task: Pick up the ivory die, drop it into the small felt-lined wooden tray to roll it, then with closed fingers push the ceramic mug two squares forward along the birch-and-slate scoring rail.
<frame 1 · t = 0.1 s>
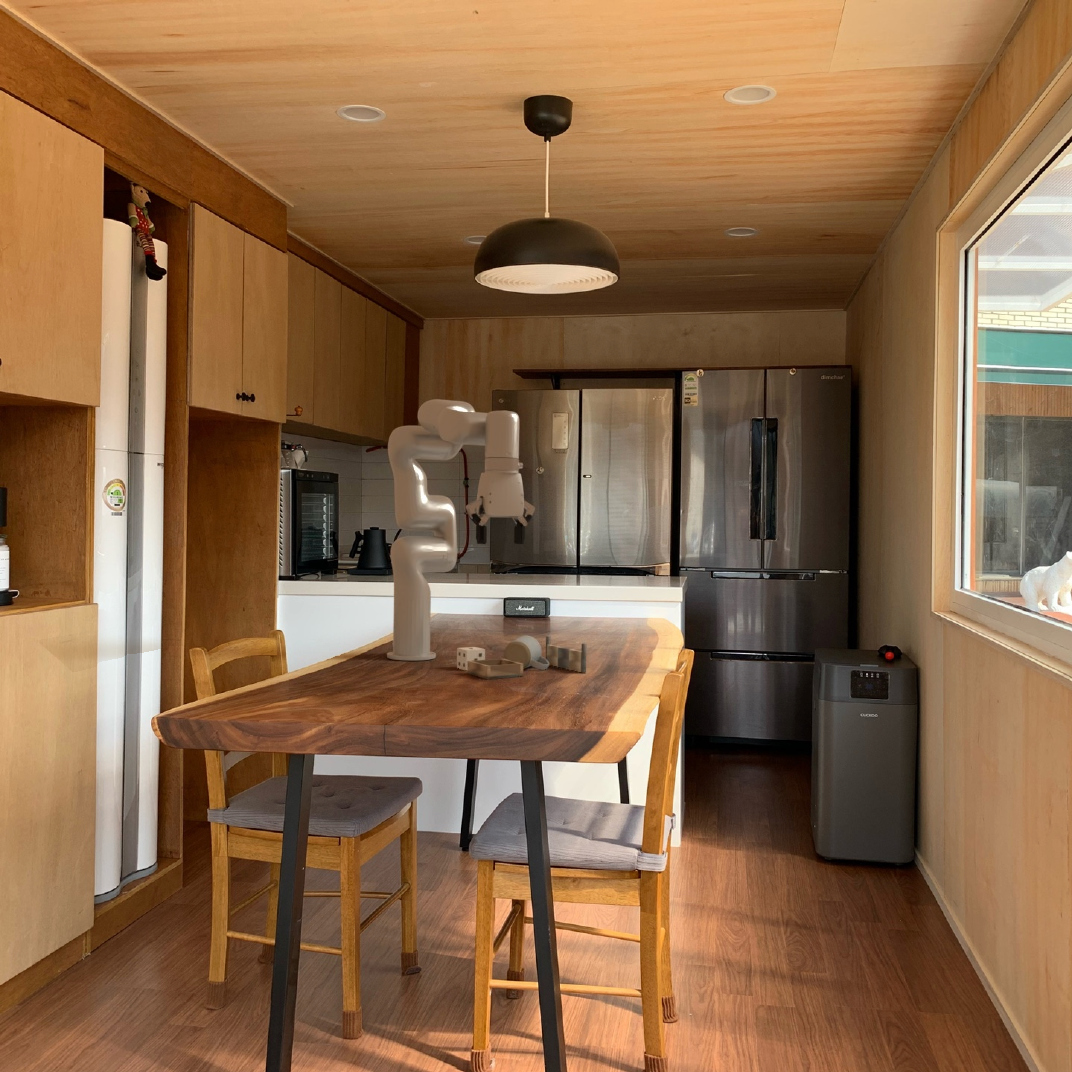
hand: (500, 543, 232), 31 cm above the table, tool pointing down, fingers open, 9 cm apart
felt tray: (495, 675, 244), on the table
ceramic mug: (527, 669, 257), on the table
die: (470, 669, 254), on the table
scoring rail: (565, 668, 257), on the table
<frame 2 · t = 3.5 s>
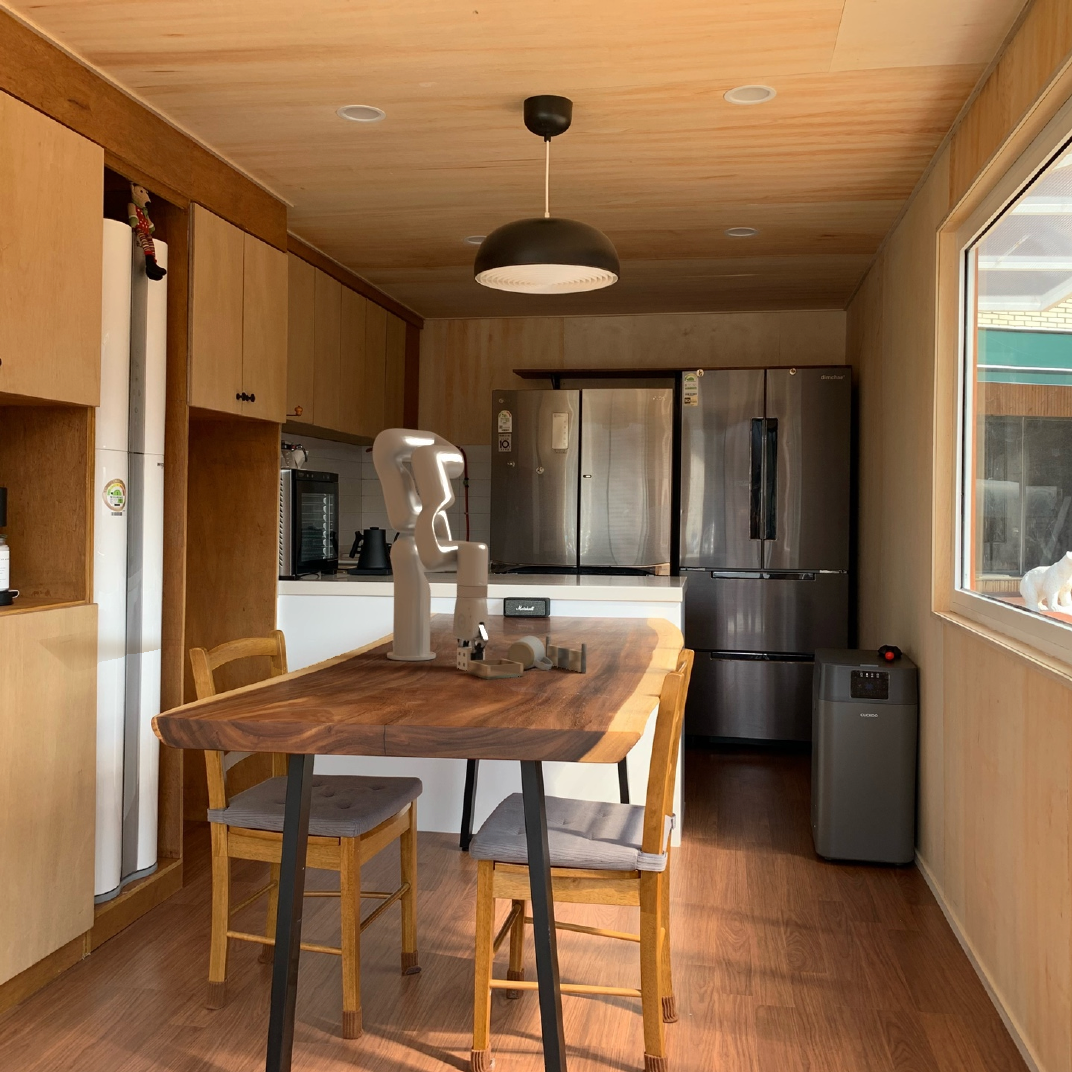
hand: (470, 666, 254), 0 cm above the table, tool pointing down, fingers closed on die, 5 cm apart
die: (470, 668, 254), on the table, touching gripper
everything else where it was.
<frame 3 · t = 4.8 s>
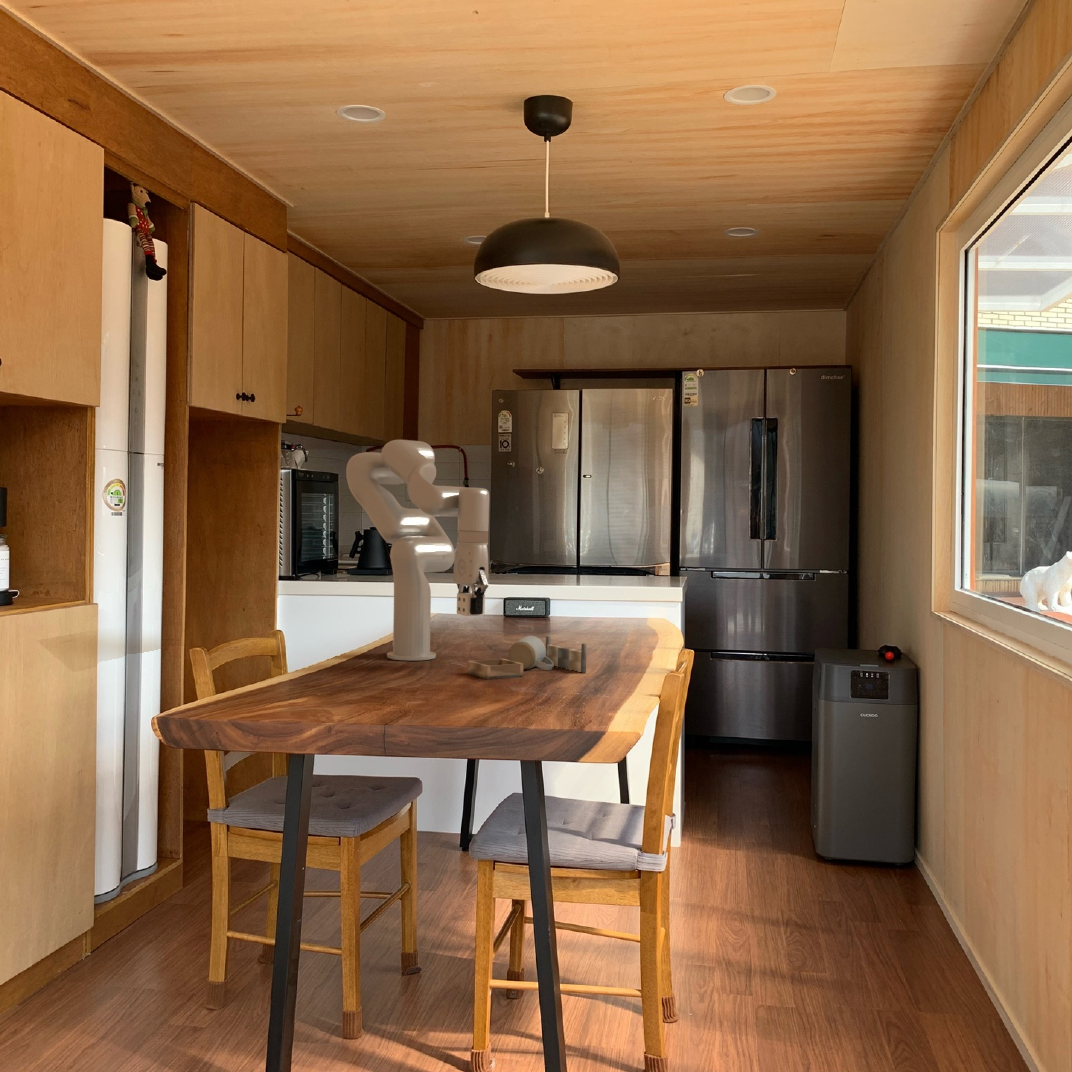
hand: (470, 612, 254), 14 cm above the table, tool pointing down, fingers closed on die, 5 cm apart
die: (470, 614, 254), point 13 cm above the table, touching gripper
when the fingers open (9 cm above the table, at t = 6.4 s): die drops 8 cm, resting on felt tray.
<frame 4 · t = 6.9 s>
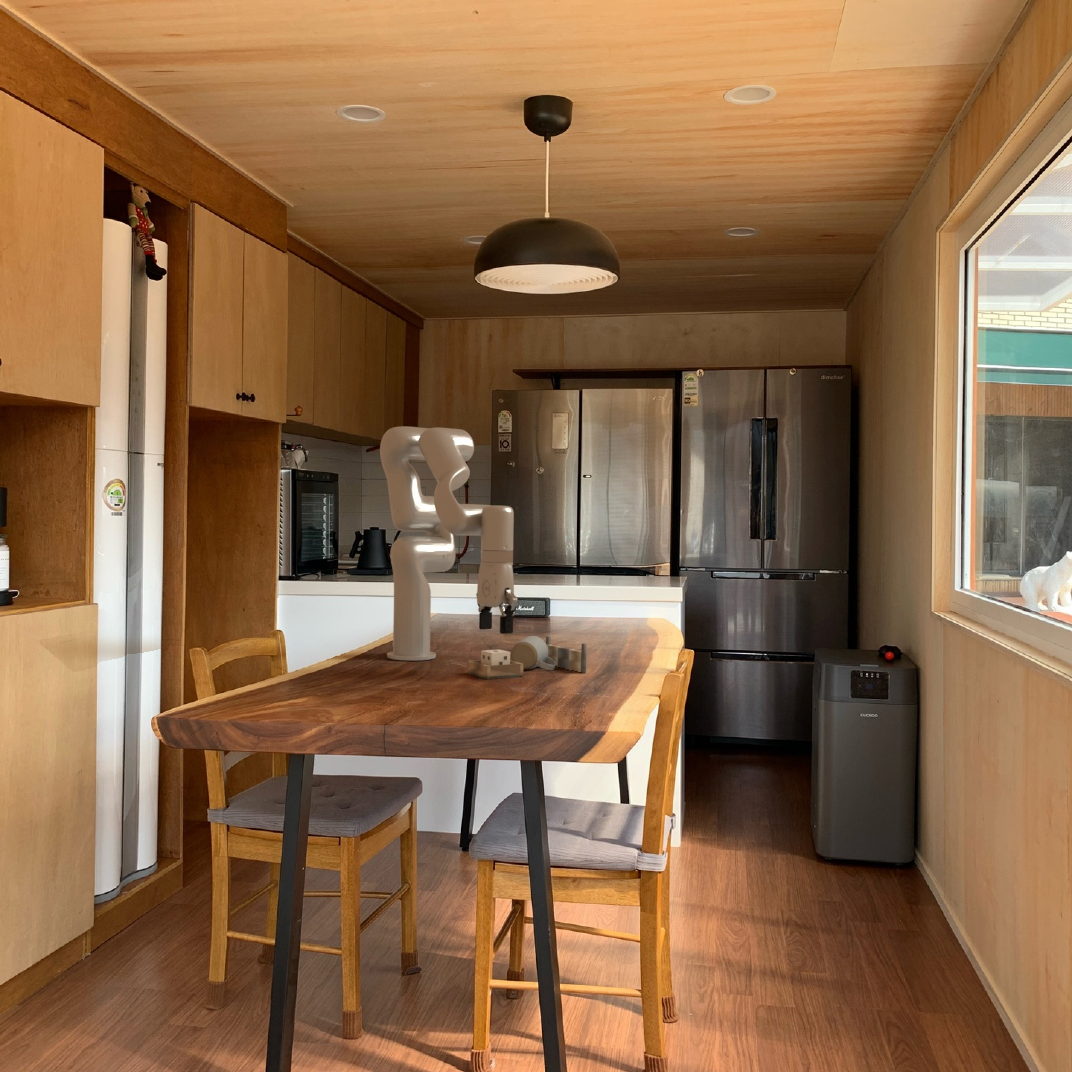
hand: (495, 631, 244), 10 cm above the table, tool pointing down, fingers open, 9 cm apart
die: (495, 672, 244), point 1 cm above the table, touching felt tray
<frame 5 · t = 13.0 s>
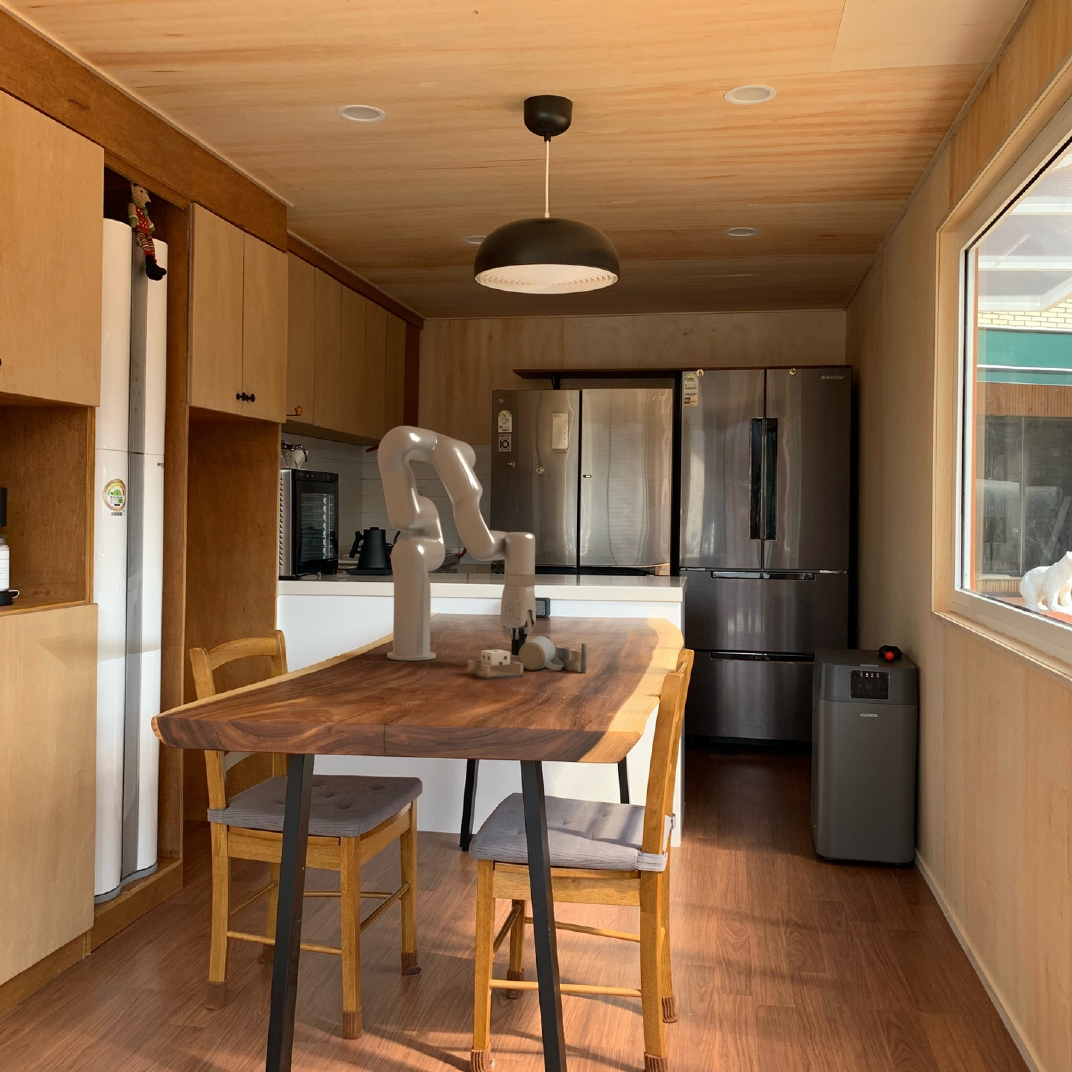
hand: (518, 654, 260), 3 cm above the table, tool pointing down, fingers closed
ceramic mug: (541, 670, 255), on the table, touching gripper
everything else where it was.
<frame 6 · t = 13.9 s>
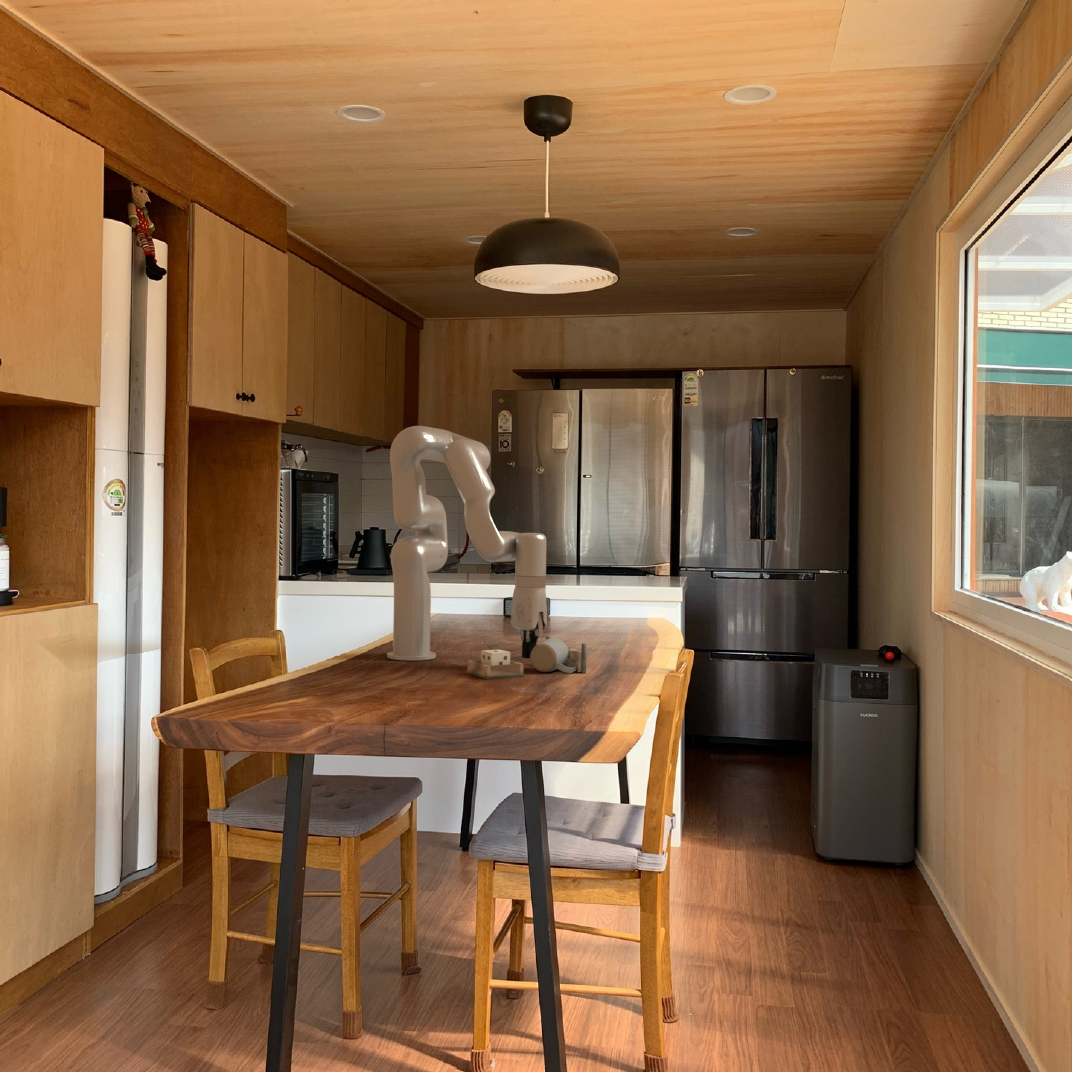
hand: (529, 657, 256), 3 cm above the table, tool pointing down, fingers closed
ceramic mug: (554, 672, 252), on the table, touching gripper
everything else where it was.
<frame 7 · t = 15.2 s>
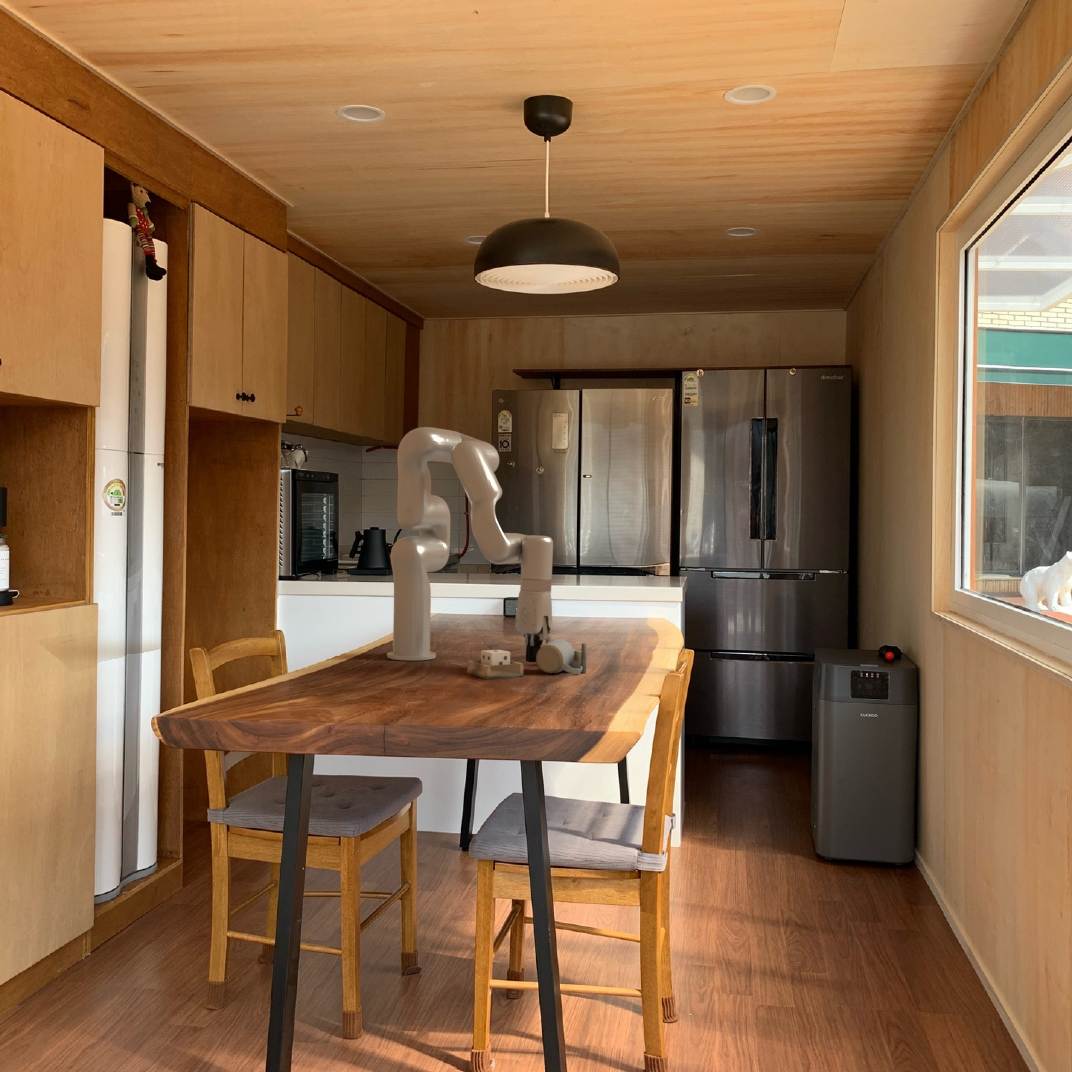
hand: (532, 661, 253), 2 cm above the table, tool pointing down, fingers closed
ceramic mug: (560, 673, 250), on the table, touching gripper, scoring rail
everything else where it was.
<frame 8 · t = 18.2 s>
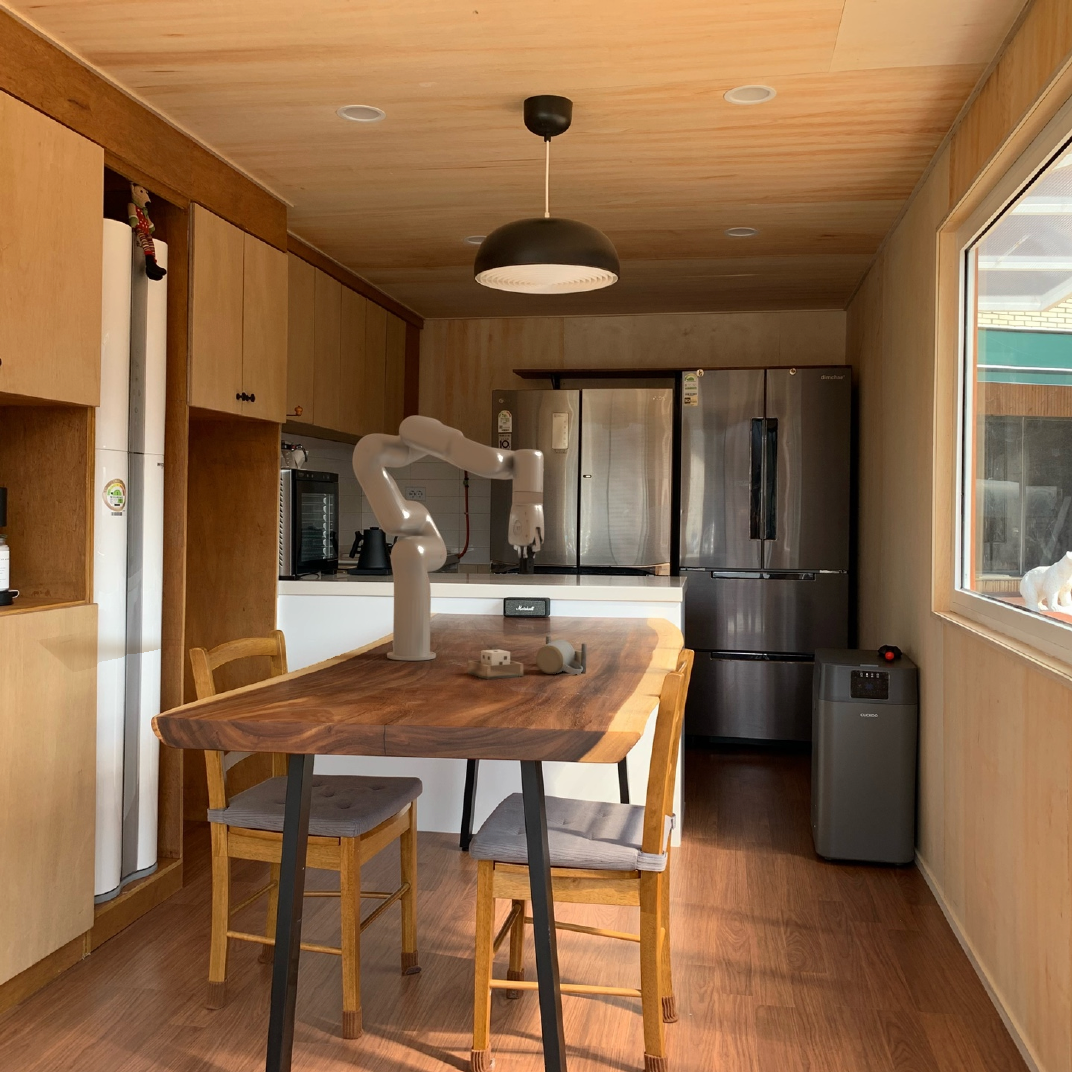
hand: (526, 574, 257), 23 cm above the table, tool pointing down, fingers closed
ceramic mug: (560, 674, 250), on the table
everything else where it was.
at the end: ceramic mug inside the target area (3.1 cm from its centre), on the table; ceramic mug tilted 0°; die inside the target area on the felt tray (0.1 cm from its centre), point 0.6 cm above the felt tray's base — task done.
